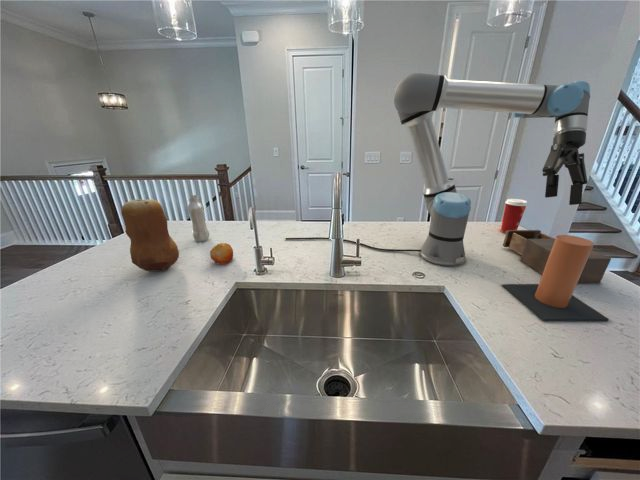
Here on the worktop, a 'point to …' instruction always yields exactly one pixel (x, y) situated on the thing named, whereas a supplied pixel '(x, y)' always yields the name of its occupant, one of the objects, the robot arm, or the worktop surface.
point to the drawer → (521, 238)
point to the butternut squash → (149, 235)
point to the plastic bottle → (197, 219)
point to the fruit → (222, 253)
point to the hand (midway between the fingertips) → (563, 200)
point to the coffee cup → (513, 214)
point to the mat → (548, 313)
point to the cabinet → (540, 250)
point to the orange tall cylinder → (563, 270)
